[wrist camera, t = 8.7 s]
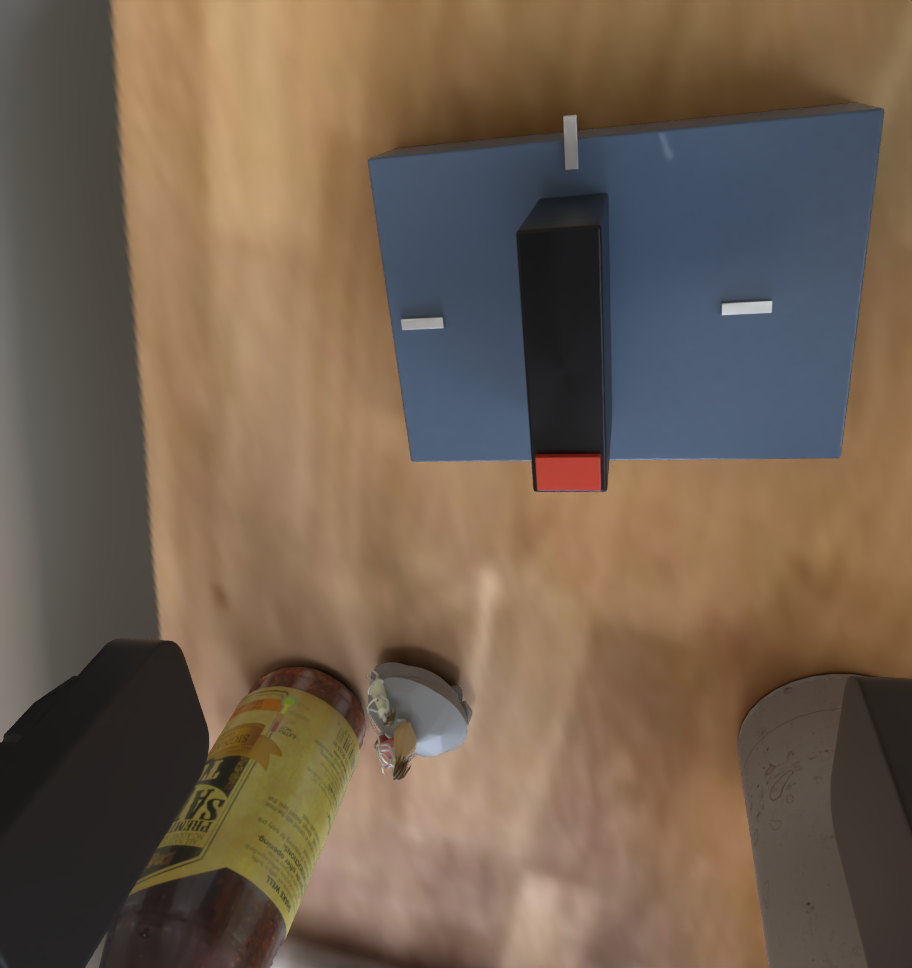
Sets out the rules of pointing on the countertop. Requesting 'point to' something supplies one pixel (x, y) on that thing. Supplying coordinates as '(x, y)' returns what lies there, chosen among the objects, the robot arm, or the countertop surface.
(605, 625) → the countertop surface
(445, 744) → the figurine
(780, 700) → the thermos bottle
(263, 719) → the sauce bottle
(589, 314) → the black and red block
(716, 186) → the rotary switch base
